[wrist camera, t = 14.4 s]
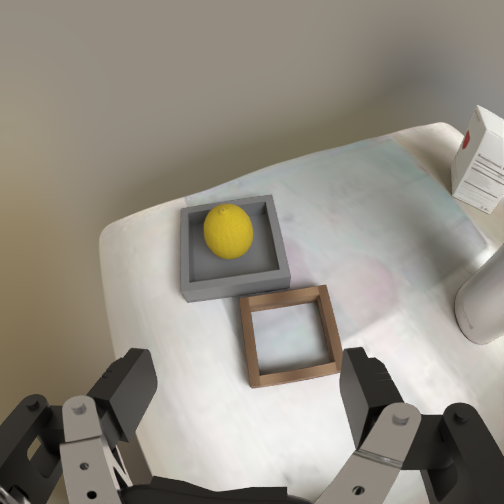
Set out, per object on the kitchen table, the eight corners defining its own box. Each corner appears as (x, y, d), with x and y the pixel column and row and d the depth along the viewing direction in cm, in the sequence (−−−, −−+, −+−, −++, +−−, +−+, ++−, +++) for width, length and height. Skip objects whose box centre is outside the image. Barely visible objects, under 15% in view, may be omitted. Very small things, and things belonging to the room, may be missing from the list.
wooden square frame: (323, 291, 33) (326, 284, 31) (342, 372, 28) (346, 369, 26) (241, 305, 33) (239, 298, 31) (252, 388, 28) (250, 386, 26)
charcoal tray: (272, 209, 40) (271, 194, 37) (289, 288, 33) (290, 276, 31) (186, 222, 40) (181, 208, 37) (187, 302, 33) (180, 292, 31)
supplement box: (449, 166, 44) (475, 102, 31) (485, 184, 41) (516, 125, 28) (450, 196, 40) (485, 127, 27) (490, 216, 37) (530, 154, 24)
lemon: (205, 243, 37) (190, 202, 30) (244, 227, 38) (237, 183, 31) (220, 278, 34) (206, 240, 27) (263, 260, 35) (259, 218, 28)
